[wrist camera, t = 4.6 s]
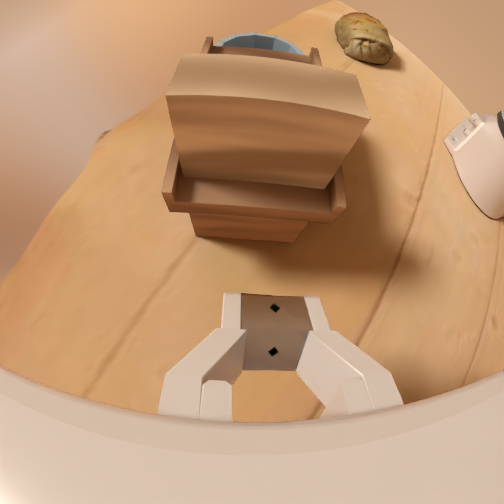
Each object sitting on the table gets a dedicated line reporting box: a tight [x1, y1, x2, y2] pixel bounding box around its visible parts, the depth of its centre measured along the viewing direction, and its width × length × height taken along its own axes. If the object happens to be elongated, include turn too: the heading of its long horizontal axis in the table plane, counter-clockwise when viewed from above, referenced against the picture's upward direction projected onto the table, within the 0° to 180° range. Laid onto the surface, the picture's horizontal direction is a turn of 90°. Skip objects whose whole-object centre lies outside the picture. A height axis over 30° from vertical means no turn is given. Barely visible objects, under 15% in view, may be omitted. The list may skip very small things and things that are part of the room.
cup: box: [216, 33, 304, 55], centre depth 28 cm, size 10×10×6 cm
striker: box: [166, 54, 370, 189], centre depth 14 cm, size 4×9×7 cm, turn 88°
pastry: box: [335, 12, 393, 64], centre depth 35 cm, size 14×12×8 cm
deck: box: [162, 37, 347, 243], centre depth 23 cm, size 18×11×10 cm, turn 178°
